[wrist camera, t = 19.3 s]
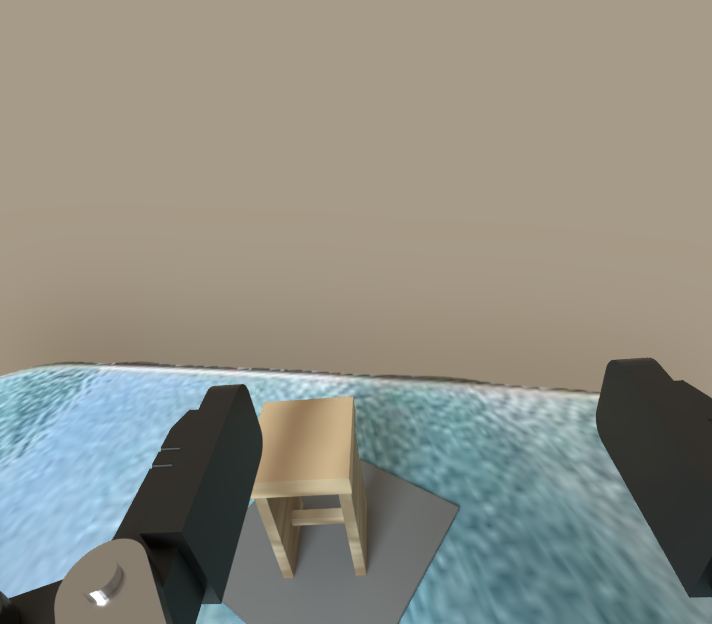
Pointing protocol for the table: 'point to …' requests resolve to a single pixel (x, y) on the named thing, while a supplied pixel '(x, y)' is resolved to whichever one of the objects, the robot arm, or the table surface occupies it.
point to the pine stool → (310, 475)
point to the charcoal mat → (342, 560)
